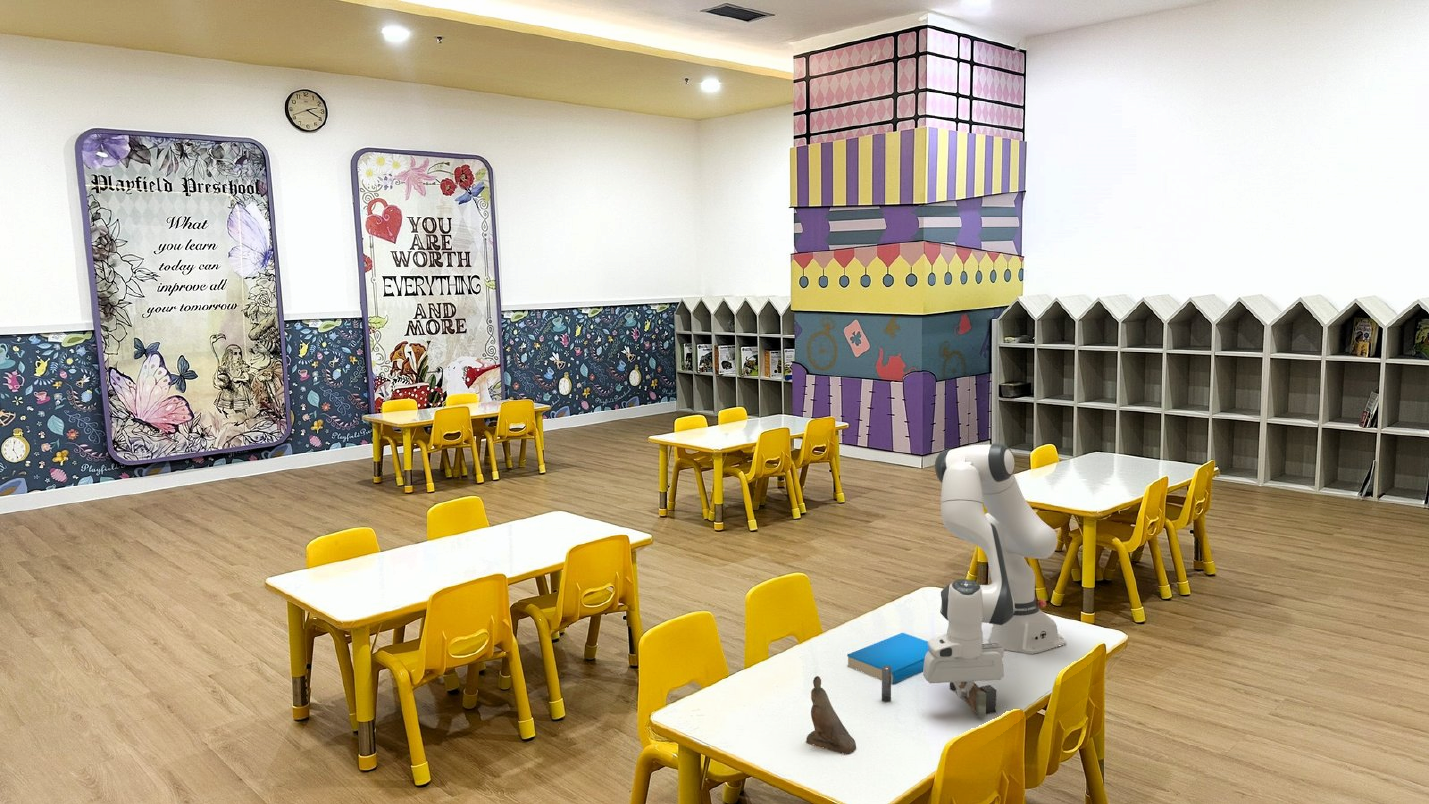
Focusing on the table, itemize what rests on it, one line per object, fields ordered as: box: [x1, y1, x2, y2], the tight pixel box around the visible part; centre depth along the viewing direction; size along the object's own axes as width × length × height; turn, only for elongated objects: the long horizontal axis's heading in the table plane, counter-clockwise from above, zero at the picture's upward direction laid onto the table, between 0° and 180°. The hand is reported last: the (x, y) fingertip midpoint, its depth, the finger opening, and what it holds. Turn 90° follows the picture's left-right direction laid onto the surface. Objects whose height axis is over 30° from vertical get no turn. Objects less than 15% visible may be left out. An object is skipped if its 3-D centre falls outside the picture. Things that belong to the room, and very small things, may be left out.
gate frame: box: [881, 666, 998, 715], centre depth 250 cm, size 24×17×9 cm
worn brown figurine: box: [805, 675, 857, 755], centre depth 230 cm, size 12×6×18 cm, turn 52°
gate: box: [955, 682, 987, 718], centre depth 249 cm, size 17×2×6 cm, turn 7°
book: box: [846, 632, 929, 685], centre depth 277 cm, size 17×4×25 cm
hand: (962, 696), depth 246 cm, fingers closed
